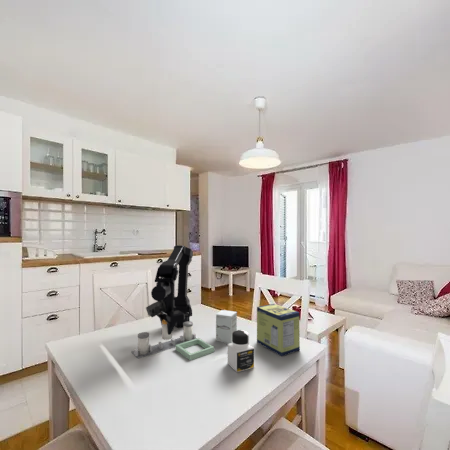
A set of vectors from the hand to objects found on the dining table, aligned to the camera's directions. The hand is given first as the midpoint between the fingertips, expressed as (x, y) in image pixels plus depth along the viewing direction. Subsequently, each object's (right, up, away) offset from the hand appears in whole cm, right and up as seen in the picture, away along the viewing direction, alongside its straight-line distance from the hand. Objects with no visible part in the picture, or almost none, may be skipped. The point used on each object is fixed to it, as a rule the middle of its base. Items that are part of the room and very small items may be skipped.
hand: (167, 332), depth 106 cm
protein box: (+46, -7, +3) cm, 47 cm away
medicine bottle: (+30, -7, -13) cm, 33 cm away
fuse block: (0, -6, 0) cm, 6 cm away
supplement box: (+25, -7, +7) cm, 26 cm away
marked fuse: (0, -2, 0) cm, 2 cm away
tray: (+12, -6, -5) cm, 14 cm away
